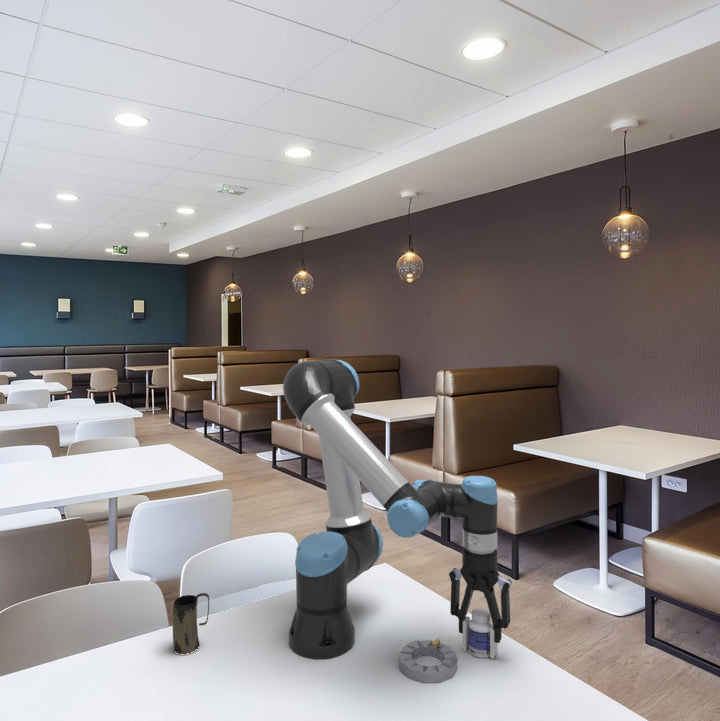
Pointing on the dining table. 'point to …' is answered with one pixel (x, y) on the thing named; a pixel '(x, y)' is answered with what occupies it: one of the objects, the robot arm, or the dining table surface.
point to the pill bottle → (480, 633)
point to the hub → (428, 672)
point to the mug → (186, 623)
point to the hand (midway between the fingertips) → (479, 651)
